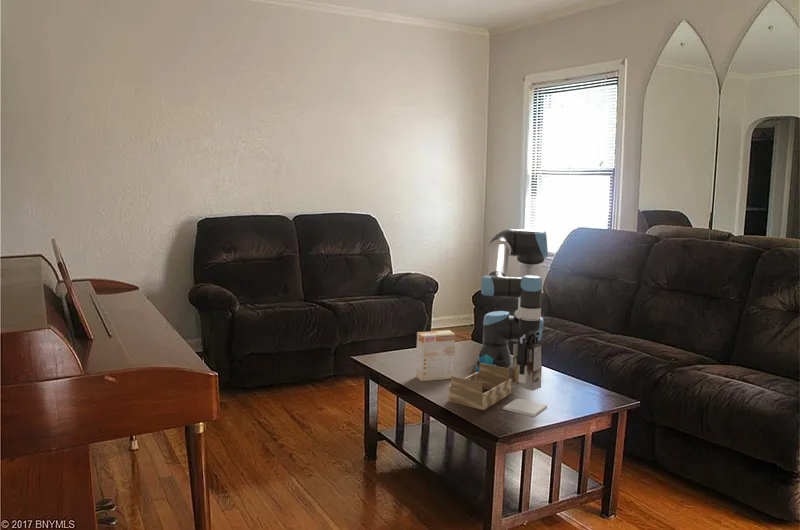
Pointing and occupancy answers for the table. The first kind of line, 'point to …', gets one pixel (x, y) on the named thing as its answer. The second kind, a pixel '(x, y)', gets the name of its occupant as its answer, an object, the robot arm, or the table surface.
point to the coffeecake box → (435, 355)
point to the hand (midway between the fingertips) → (526, 379)
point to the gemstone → (485, 361)
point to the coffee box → (529, 367)
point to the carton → (471, 387)
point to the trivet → (525, 407)
